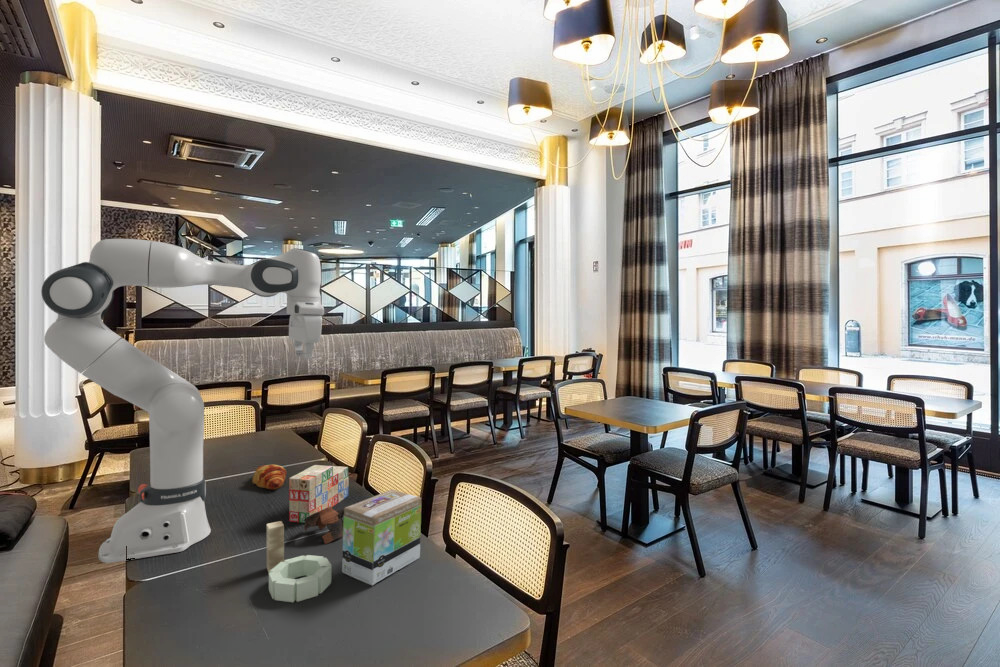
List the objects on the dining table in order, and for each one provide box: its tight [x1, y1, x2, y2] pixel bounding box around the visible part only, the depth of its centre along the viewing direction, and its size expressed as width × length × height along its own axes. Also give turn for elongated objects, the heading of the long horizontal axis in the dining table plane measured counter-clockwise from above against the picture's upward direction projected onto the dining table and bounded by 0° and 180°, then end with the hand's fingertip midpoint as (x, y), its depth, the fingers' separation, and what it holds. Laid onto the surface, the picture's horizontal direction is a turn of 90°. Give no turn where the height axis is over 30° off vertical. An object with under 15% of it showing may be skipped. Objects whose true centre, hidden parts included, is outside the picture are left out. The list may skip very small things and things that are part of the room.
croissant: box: [252, 463, 288, 491], centre depth 163 cm, size 21×10×8 cm, turn 39°
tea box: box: [341, 489, 422, 586], centre depth 110 cm, size 15×10×15 cm, turn 148°
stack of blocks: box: [288, 464, 350, 524], centre depth 142 cm, size 21×6×12 cm, turn 169°
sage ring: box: [268, 554, 332, 603], centre depth 101 cm, size 12×12×4 cm
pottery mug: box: [303, 506, 344, 545], centre depth 125 cm, size 12×10×8 cm
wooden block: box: [266, 520, 285, 574], centre depth 107 cm, size 3×3×10 cm
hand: (303, 357), depth 135 cm, fingers open, 8 cm apart
